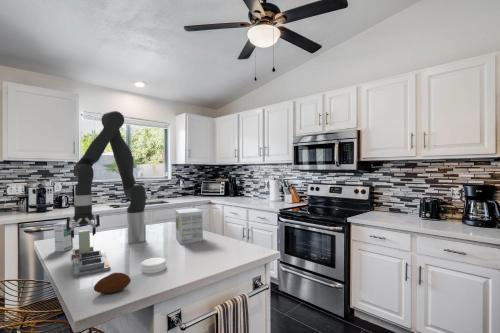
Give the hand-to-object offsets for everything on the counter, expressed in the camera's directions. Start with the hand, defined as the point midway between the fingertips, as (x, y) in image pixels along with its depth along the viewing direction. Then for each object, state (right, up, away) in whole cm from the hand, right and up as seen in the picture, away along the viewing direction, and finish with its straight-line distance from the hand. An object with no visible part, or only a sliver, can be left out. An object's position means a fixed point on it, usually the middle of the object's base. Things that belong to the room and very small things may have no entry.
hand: (83, 236), depth 134 cm
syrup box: (-16, -10, +9) cm, 21 cm away
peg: (0, -9, 0) cm, 9 cm away
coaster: (+42, -9, -20) cm, 48 cm away
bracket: (0, -9, 0) cm, 9 cm away
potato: (+35, -9, -40) cm, 54 cm away
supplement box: (+48, -8, +23) cm, 54 cm away
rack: (+13, -9, -15) cm, 22 cm away
